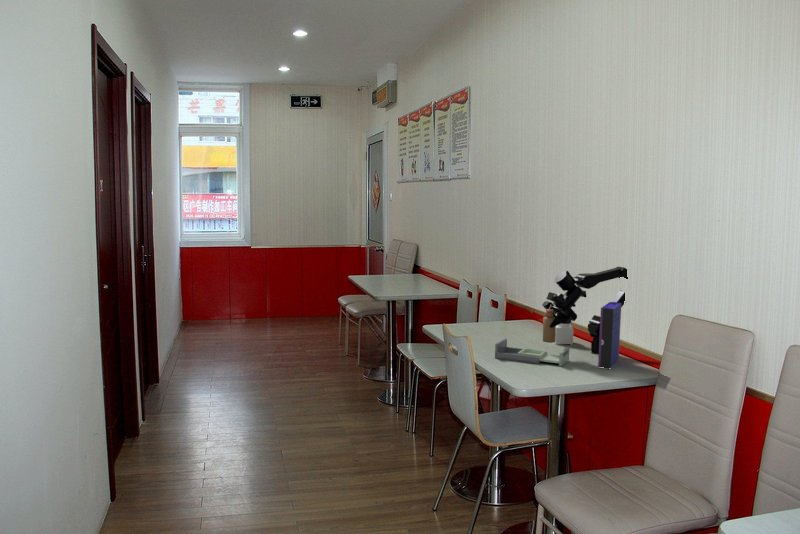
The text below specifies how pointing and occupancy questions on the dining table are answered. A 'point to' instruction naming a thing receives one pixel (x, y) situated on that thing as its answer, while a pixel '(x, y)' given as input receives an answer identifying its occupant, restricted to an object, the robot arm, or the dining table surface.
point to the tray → (547, 355)
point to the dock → (512, 353)
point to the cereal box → (609, 334)
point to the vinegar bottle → (548, 332)
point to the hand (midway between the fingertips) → (546, 325)
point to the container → (564, 333)
